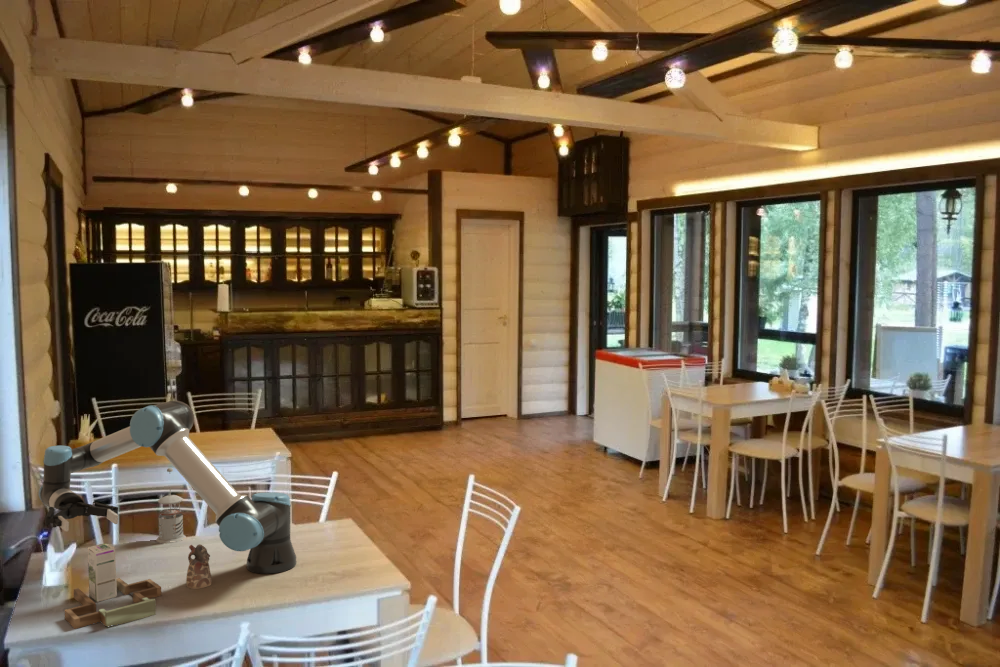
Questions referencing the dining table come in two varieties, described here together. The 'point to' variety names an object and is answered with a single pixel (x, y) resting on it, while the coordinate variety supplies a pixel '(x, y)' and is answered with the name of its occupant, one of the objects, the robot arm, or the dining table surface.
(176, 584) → the dining table surface
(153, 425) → the robot arm
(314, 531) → the dining table surface
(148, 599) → the channel
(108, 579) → the syrup box
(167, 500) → the french press
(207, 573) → the figurine
